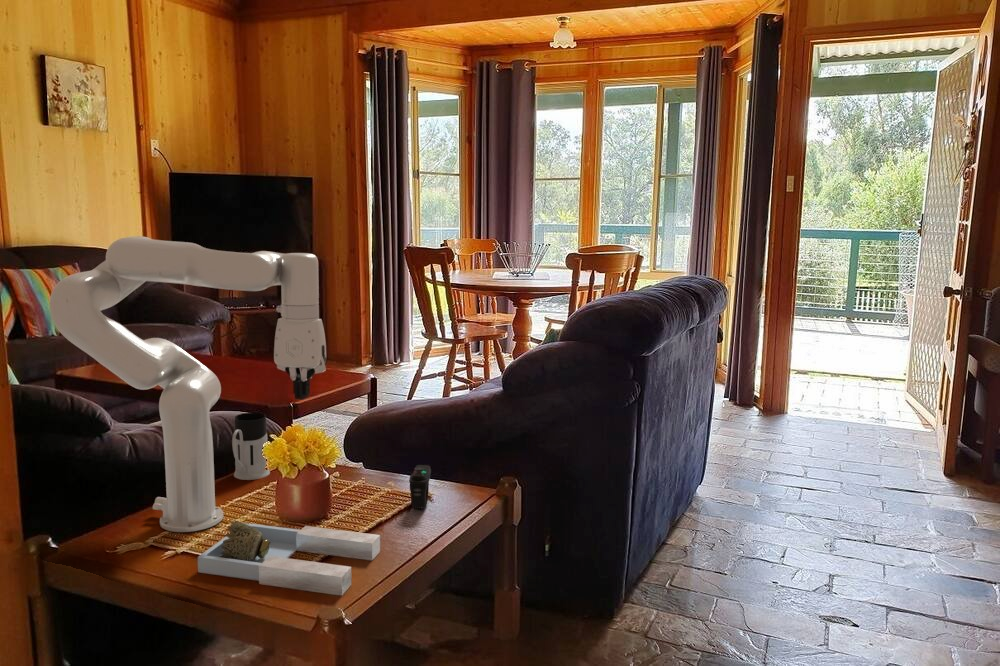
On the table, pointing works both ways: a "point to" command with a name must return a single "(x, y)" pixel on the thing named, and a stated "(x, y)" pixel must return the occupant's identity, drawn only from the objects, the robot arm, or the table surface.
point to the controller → (420, 486)
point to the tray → (279, 547)
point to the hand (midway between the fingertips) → (301, 397)
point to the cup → (244, 543)
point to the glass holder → (249, 446)
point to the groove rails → (316, 573)
